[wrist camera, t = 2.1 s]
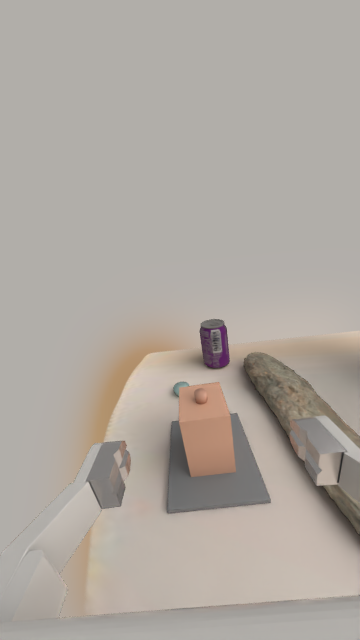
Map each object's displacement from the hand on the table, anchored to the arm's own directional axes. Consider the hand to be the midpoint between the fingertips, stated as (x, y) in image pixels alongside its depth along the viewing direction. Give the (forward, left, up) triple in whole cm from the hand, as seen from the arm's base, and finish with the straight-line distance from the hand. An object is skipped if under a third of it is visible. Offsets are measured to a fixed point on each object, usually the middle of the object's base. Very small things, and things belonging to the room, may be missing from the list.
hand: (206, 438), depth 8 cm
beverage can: (-6, -36, -19) cm, 42 cm away
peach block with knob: (0, -12, -19) cm, 22 cm away
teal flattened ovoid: (+4, -26, -19) cm, 33 cm away
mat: (0, -12, -19) cm, 23 cm away
